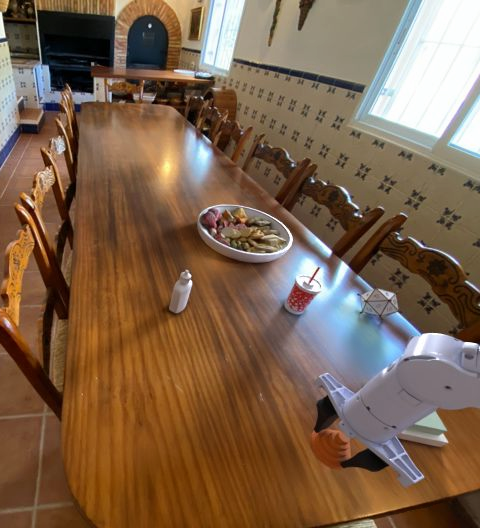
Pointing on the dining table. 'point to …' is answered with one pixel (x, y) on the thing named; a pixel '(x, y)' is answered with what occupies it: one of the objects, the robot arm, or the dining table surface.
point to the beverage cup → (303, 293)
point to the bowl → (243, 233)
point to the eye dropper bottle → (181, 292)
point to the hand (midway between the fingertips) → (332, 445)
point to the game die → (379, 303)
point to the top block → (430, 425)
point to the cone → (330, 447)
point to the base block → (423, 437)
